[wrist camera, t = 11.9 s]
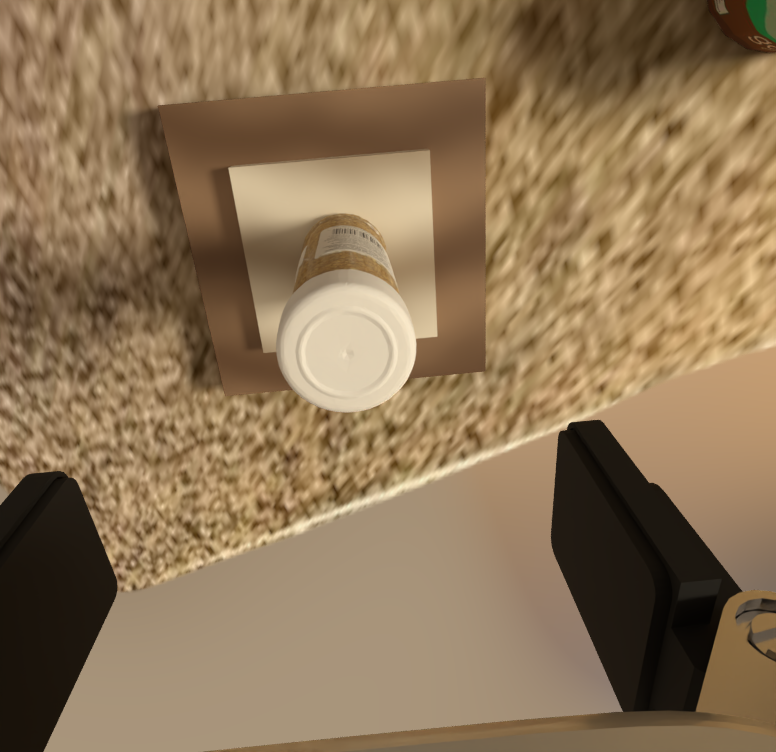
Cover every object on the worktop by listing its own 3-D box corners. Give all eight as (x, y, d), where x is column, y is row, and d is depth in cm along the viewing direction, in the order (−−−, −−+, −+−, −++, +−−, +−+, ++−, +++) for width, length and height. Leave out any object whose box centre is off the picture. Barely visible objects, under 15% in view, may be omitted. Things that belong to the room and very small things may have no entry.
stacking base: (169, 105, 29) (151, 105, 26) (477, 79, 29) (490, 76, 27) (231, 381, 36) (221, 403, 33) (478, 357, 36) (488, 378, 34)
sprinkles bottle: (285, 263, 30) (245, 368, 18) (335, 192, 28) (330, 254, 16) (354, 312, 31) (361, 441, 19) (405, 247, 30) (447, 341, 18)
